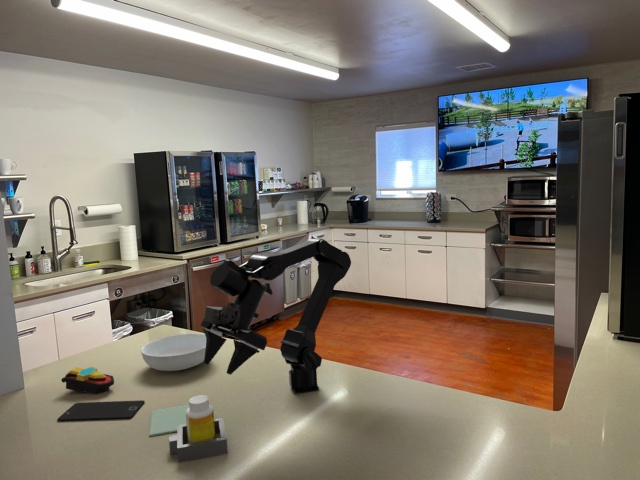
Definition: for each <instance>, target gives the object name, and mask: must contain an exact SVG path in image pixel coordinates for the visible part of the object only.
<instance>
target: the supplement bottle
mask: <svg viewBox="0 0 640 480" xmlns="http://www.w3.org/2000/svg"><path fill="white" fill-rule="evenodd" d="M188 405H189V408H188V409H187V410H186V422H187V434H188V439H187V444H190V443H195V442H201V441H206V440H212V439H216V434H215V425H214V419H215V414H214V412H215V411H214V407H213V405H212V404H211V403H210V400H209V396H207V395H201V394H200V395H195V396H192V397H191V398H190V399H189V400H188Z"/></svg>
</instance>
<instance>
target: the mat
mask: <svg viewBox="0 0 640 480" xmlns="http://www.w3.org/2000/svg"><path fill="white" fill-rule="evenodd" d="M188 408H189V404H184V405H178V406H172V407H167V408H161V409H154V410H152V411H151V418H150V427H149V434H148V436H149V437H153V436H161V435H165V434H171V433H176V432H177V429H178V425H183V424H187V422H186V410H187V409H188Z"/></svg>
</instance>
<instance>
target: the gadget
mask: <svg viewBox="0 0 640 480" xmlns="http://www.w3.org/2000/svg"><path fill="white" fill-rule="evenodd" d="M61 383H65V389H66V390H69V391H73V392H77V393H87V394H91V395H100V394H104V393H106V392H108V391H110V387H111V386H113V385H115V378H114V375H109V374H106V373H102V372H100V371H98V368H97V367H94V366H90V367H86V368H80V367H75V368H72V369H71V370H69V371H68V372H67V373H66V374H65V376H64V377H62V378H61Z"/></svg>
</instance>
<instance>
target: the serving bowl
mask: <svg viewBox="0 0 640 480" xmlns="http://www.w3.org/2000/svg"><path fill="white" fill-rule="evenodd" d="M205 349H206V336H205V333H195V332H194V333H178V334H173V335H168V336H164V337H160V338H157V339H154V340H152V341H150V342H148V343H146V344H144V345H143V346H142V347H141V348H140V353H141V356H142V359H143V361H144V362H145V364H147V366H149V367H150V368H152V369H155V370H156V371H163V372H174V371H175V372H177V371H178V372H179V371H184V370H187V369H190V368H192V367H195V366H198V365H200V364H201V363H204V357H205Z"/></svg>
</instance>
